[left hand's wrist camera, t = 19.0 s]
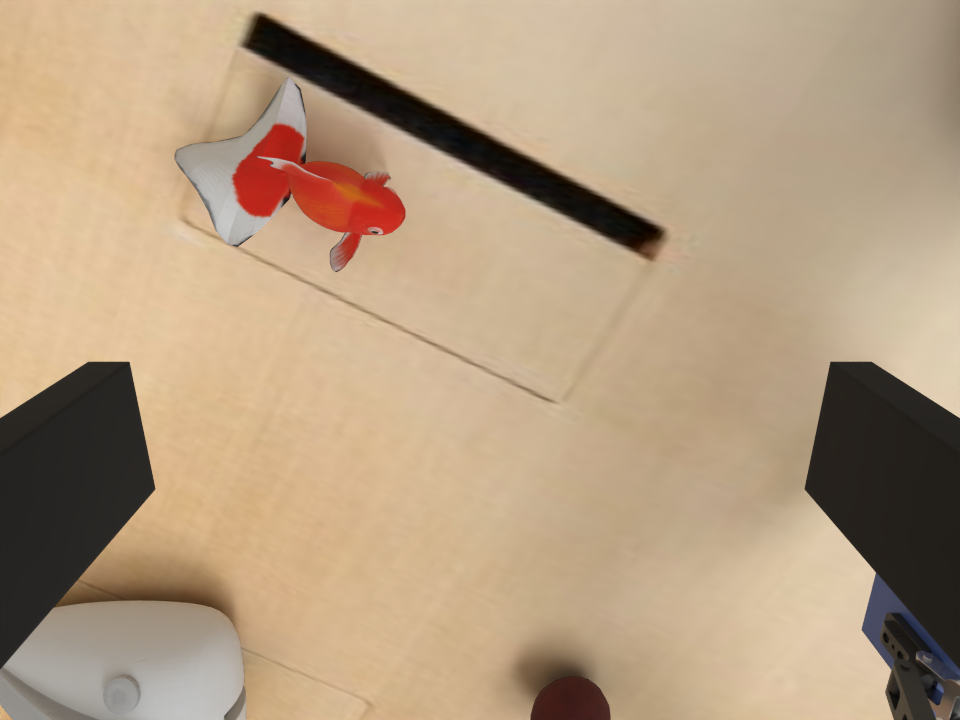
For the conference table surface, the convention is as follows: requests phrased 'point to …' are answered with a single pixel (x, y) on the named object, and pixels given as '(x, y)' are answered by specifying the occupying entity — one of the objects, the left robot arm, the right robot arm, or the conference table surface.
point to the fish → (287, 181)
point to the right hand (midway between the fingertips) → (924, 623)
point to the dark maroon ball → (571, 701)
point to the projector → (127, 665)
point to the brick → (889, 603)
